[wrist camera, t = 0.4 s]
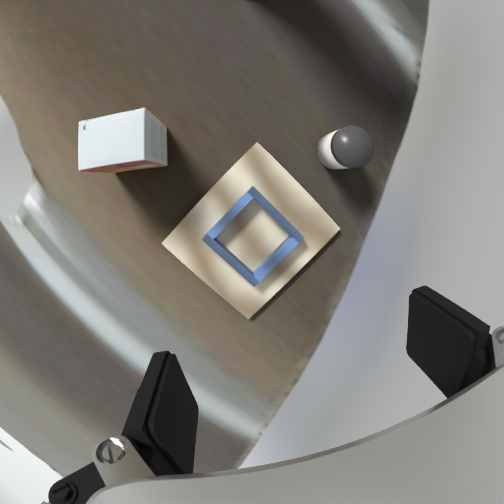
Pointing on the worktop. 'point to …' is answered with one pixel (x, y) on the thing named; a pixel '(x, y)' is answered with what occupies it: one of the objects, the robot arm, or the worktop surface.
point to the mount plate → (251, 232)
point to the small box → (122, 142)
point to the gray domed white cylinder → (345, 148)
